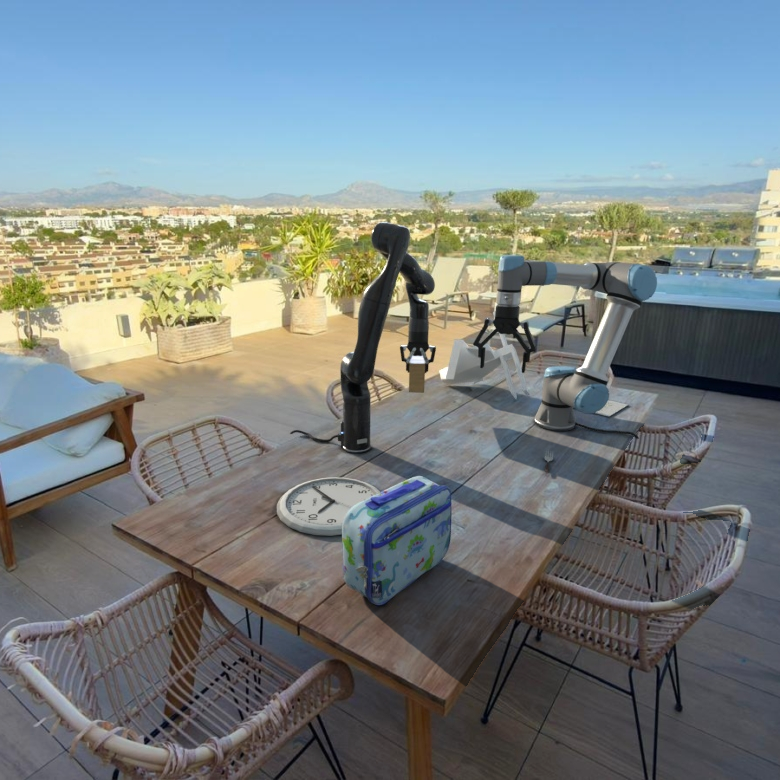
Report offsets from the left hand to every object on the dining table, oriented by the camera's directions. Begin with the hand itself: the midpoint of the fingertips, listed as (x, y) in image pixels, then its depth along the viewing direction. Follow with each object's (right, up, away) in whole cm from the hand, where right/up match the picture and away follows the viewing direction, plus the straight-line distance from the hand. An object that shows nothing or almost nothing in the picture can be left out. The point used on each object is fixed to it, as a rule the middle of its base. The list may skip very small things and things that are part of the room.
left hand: (417, 372), depth 201 cm
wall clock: (-26, -38, -58) cm, 74 cm away
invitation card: (+81, -14, +25) cm, 86 cm away
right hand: (+27, 0, -28) cm, 39 cm away
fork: (+41, -31, -32) cm, 60 cm away
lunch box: (-9, -48, -87) cm, 99 cm away
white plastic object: (+31, -8, +42) cm, 53 cm away
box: (0, -4, +12) cm, 12 cm away
